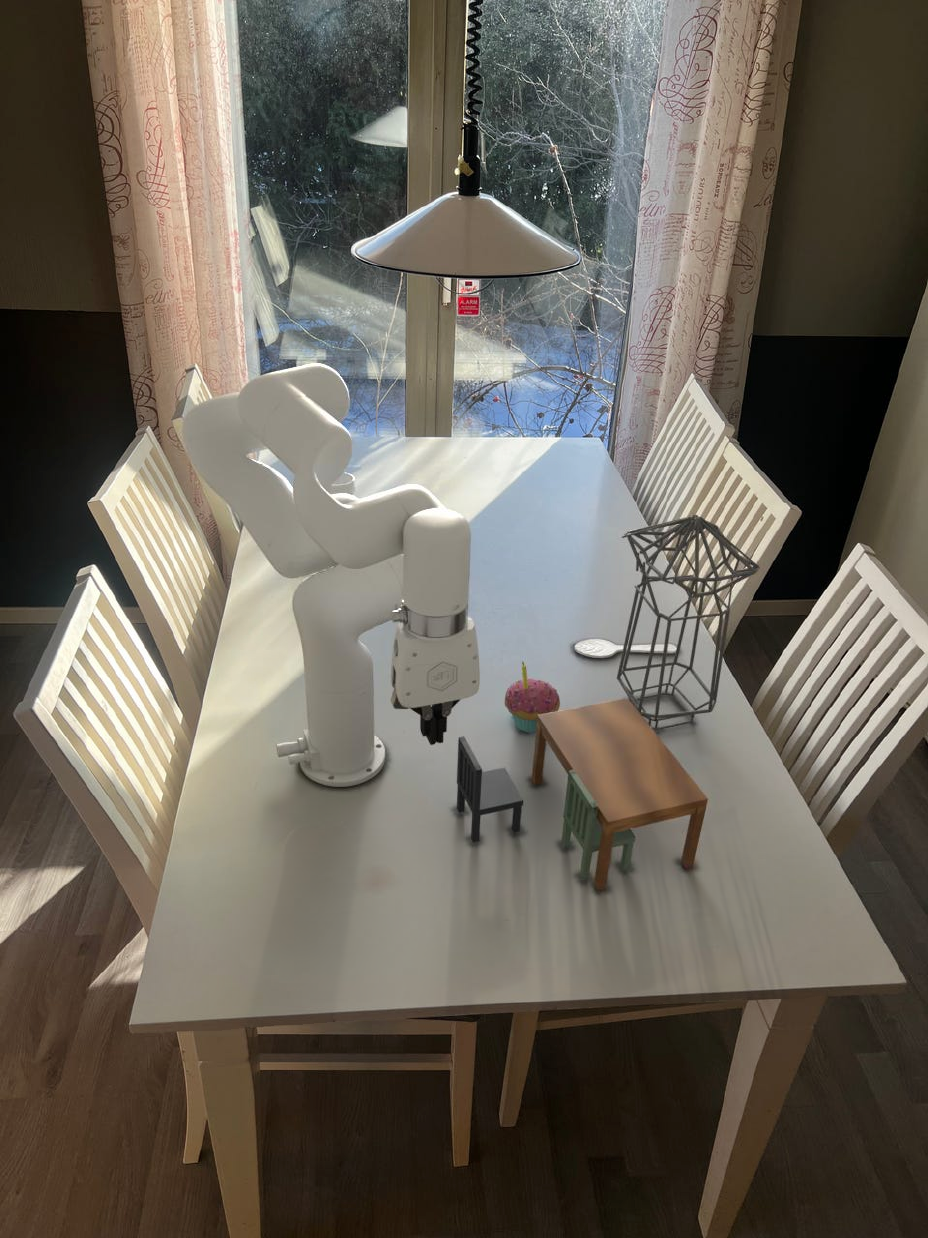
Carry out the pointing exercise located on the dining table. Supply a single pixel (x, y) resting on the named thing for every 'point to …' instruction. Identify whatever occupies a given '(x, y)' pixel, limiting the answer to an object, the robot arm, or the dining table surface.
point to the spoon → (615, 648)
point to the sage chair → (588, 825)
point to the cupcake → (530, 701)
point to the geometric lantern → (683, 528)
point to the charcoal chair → (484, 790)
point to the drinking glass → (343, 485)
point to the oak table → (621, 772)
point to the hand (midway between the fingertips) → (433, 737)
